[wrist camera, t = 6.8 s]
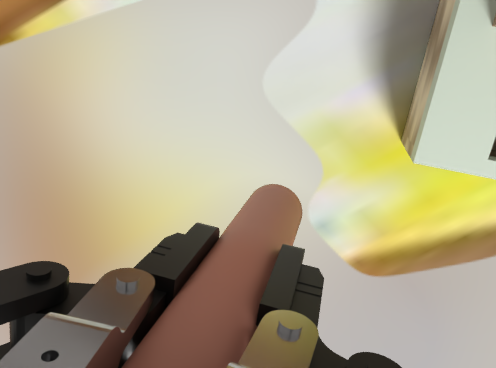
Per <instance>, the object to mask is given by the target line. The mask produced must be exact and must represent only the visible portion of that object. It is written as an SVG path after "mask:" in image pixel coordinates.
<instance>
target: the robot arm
mask: <svg viewBox="0 0 496 368" xmlns="http://www.w3.org/2000/svg"><path fill="white" fill-rule="evenodd" d="M218 239H219V228H217V227H213V226H209V225H205V224H201V223H196V224H195V225H194V226H193V227H192V228H191V229H190V230H189V231H188V232H187V233H186V234H181V233H176V234H173V235H171V236H168V237H166V238H164V239H163V240H162V241H161V242H160V243H159V244H158V245H157V246H156V247H155V248H154V249H153V250H152V251H151V253H149V254H148V255H147V256H145V257H144V258H143V259H142V260H141V261H140V262H139V263H138V264H137V265H136V266H135V267H134V268H120V269H116V270H112V271H110V272H108V273H106V274H105V275H104V276H103V277H102V278H101V279H100V280H99V281H98V282H97V283H96V284H84V283H70V282H69V271H68V269H67V268H66V267H65V266H64V265H61V264H59V263H56V262H50V261H38V262H31V263H27V264H23V265H20V266H16V267H12V268H9V269H5V270H1V271H0V325H2V324H5V323H7V322H10V342H9V343H6V344H4V345H1V346H0V368H122V366H123V365H124V364H125V362H126V361H127V360H128V358H129V357H130V356H131V354H132V353H133V352H134V350H135V349H136V348H137V346H138V345H139V344H140V342H141V341H142V340H143V338H144V337H145V336H146V334H147V333H148V332H149V330H150V329H151V328H152V326H153V325H154V324H155V322H156V321H157V320H158V319H159V317H160V316H161V315H162V313H163V312H164V311H165V309H166V308H167V307H168V305H169V304H170V303H171V301H172V300H173V299H174V298H175V296H176V295H177V294H178V292H179V291H180V290H181V288H182V287H183V286H184V284H185V283H186V282H187V280H188V279H189V278H190V276H191V275H192V274H193V272H194V271H195V270H196V268H197V267H198V266H199V264H200V263H201V262H202V260H203V259H204V258H205V256H206V255H207V254H208V252H209V251H210V250H211V248H212V247H213V246H214V244H215V243H216V242H217V240H218ZM304 252H305V249H302V248H298V247H294V246H290V245H286V244H282V247H281V249H280V252H279V255H278V257H277V260H276V262H275V265H274V268H273V270H272V273H271V275H270V278H269V281H268V283H267V286H266V288H265V291H264V294H263V296H262V299H261V301H260V305H259V310H258V315H257V321H256V326H257V329H256V331H255V333H254V335H253V337H252V338H251V340H250V342H249V344H248V346H247V347H246V349H245V351H244V353H243V355H242V357H241V358H240V360H239V362H238V363H235V362H233V361H231V362H230V363H229V364H228V366H227V367H226V368H402V367H400V366H399V365H398V364H397V363H395V362H394V361H392V360H391V359H389V358H387V357H385V356H382V355H379V354H376V353H370V352H360V353H356V354H354V355H352V356H351V357H350V358H349V360H346V359H345V358H343V357H341V356H339V355H338V354H336V353H334V352H333V351H332V350H330V349H329V348H328V347H327V346H326V345H325V344H324V343H323V342H322V341H321V339H320V337H319V335H318V329H317V326H318V319H319V312H320V304H321V297H322V289H323V282H324V277H323V276H322V274H321V272H320V270H319V269H318V268H315V267H311V266H307V265H303V264H302V261H303V257H304Z"/></svg>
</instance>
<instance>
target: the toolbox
mask: <svg viewBox="0 0 496 368" xmlns="http://www.w3.org/2000/svg"><path fill="white" fill-rule="evenodd" d="M454 4H455V0H440V2H439V5H438V9H437V12H436V16H435V20H434V23H433V27H432V31H431V34H430V38H429V42H428V45H427V49H426V52H425V56H424V60H423V63H422V67H421V71H420V74H419V78H418V82H417V85H416V89H415V92H414V96H413V100H412V103H411V107H410V111H409V114H408V118H407V122H406V125H405V129H404V132H403V136H402V140H401V142H402V144H403V145H404V147H405V149H406V151H407V152H408V154H409V156H410V158H411V154H412V151H413V147H414V144H415V140H416V137H417V133H418V130H419V126H420V123H421V119H422V116H423V112H424V109H425V105H426V102H427V98H428V95H429V91H430V88H431V84H432V81H433V77H434V74H435V70H436V67H437V63H438V60H439V56H440V53H441V49H442V46H443V42H444V39H445V35H446V32H447V28H448V25H449V21H450V18H451V14H452V11H453V7H454ZM489 156H492V157H496V137H495V140H494V143H493V146H492V149H491V152H490V155H489Z"/></svg>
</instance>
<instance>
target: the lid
mask: <svg viewBox="0 0 496 368" xmlns="http://www.w3.org/2000/svg"><path fill="white" fill-rule="evenodd" d="M495 137H496V0H455V4H454V7H453V11H452V14H451V18H450V21H449V25H448V28H447V32H446V35H445V39H444V42H443V46H442V49H441V53H440V56H439V60H438V63H437V67H436V70H435V74H434V77H433V81H432V84H431V88H430V91H429V95H428V98H427V102H426V105H425V109H424V112H423V116H422V119H421V123H420V126H419V130H418V133H417V137H416V140H415V144H414V147H413V151H412V154H411V160H412V161H413V163H416V164H421V165H426V166H431V167H436V168H441V169H446V170H451V171H456V172H461V173H466V174H471V175H476V176H481V177H486V178H491V179H496V157H492V156H489V155H490V152H491V149H492V146H493V143H494V140H495Z"/></svg>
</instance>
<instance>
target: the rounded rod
mask: <svg viewBox="0 0 496 368" xmlns="http://www.w3.org/2000/svg"><path fill="white" fill-rule="evenodd" d="M301 218H302V207H301V203H300V201H299V199H298V197H297V196H296V195H295V193H293V192H292V191H291V190H290V189H288V188H286V187H284V186H281V185H277V184H269V185H265V186H262V187H260V188H258V189H257V190H256V191H255V192H254V193H253V194H252V195H251V196H250V198H249V199H248V201H247V202H246V203H245V204H244V206H243V207H242V208H241V210H240V211H239V212H238V214H237V215H236V216H235V218H234V219H233V220H232V222H231V223H230V224H229V226H228V227H227V228H226V230H225V231H224V232H223V234H222V235H221V237H220V238H219V239H218V240H217V242H216V243H215V244H214V246H213V247H212V248H211V250H210V251H209V252H208V254H207V255H206V256H205V258H204V259H203V260H202V262H201V263H200V264H199V266H198V267H197V268H196V270H195V271H194V272H193V274H192V275H191V276H190V278H189V279H188V280H187V282H186V283H185V284H184V286H183V287H182V288H181V290H180V291H179V292H178V294H177V295H176V296H175V298H174V299H173V300H172V301H171V303H170V304H169V305H168V307H167V308H166V309H165V311H164V312H163V313H162V315H161V316H160V317H159V319H158V320H157V321H156V322H155V324H154V325H153V326H152V328H151V329H150V330H149V332H148V333H147V334H146V336H145V337H144V338H143V340H142V341H141V342H140V344H139V345H138V346H137V348H136V349H135V350H134V352H133V353H132V354H131V356H130V357H129V358H128V360H127V361H126V362H125V364H124V365H123V366H122V368H226V367H227V366H228V364H229V363H230V362H231V361H233V362H235V363H238V362H239V360H240V358H241V357H242V355H243V353H244V351H245V349H246V347H247V346H248V344H249V342H250V340H251V338H252V337H253V335H254V333H255V331H256V329H257V326H256V321H257V315H258V310H259V305H260V301H261V299H262V296H263V294H264V291H265V288H266V286H267V283H268V281H269V278H270V275H271V273H272V270H273V268H274V265H275V262H276V260H277V257H278V255H279V252H280V249H281V247H282V244H286V245H290V246H293V242H294V240H295V236H296V234H297V230H298V228H299V225H300V222H301Z"/></svg>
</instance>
